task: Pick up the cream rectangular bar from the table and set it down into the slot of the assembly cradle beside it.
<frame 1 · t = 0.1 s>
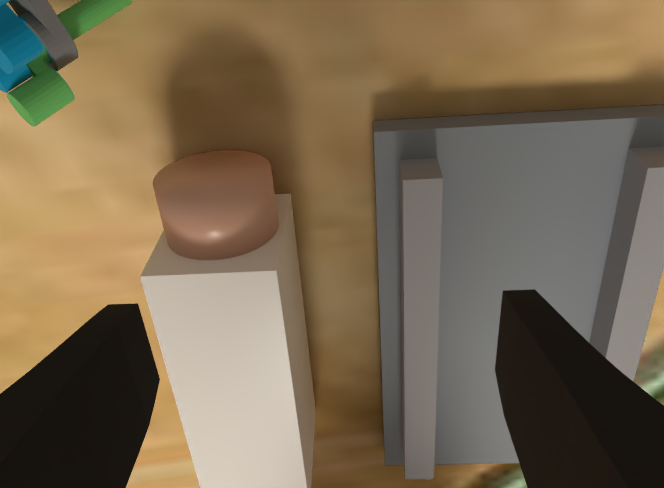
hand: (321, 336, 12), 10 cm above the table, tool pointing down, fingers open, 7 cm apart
cream rectangular bar: (256, 315, 25), on the table
cradle: (506, 308, 24), on the table
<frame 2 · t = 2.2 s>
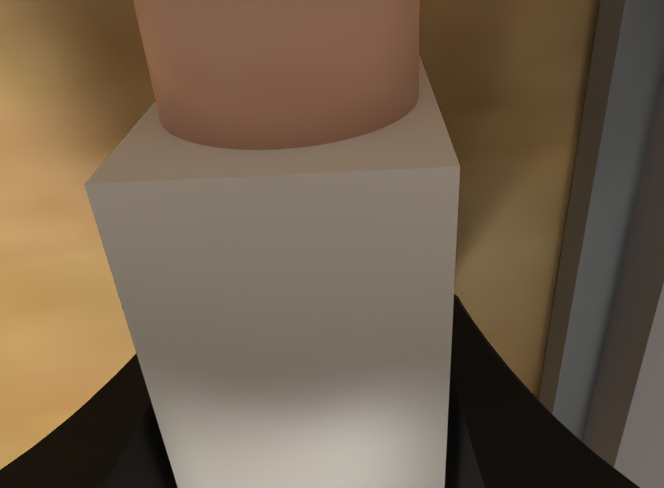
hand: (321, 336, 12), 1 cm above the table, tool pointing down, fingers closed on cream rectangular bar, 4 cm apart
cream rectangular bar: (324, 303, 14), on the table, touching gripper
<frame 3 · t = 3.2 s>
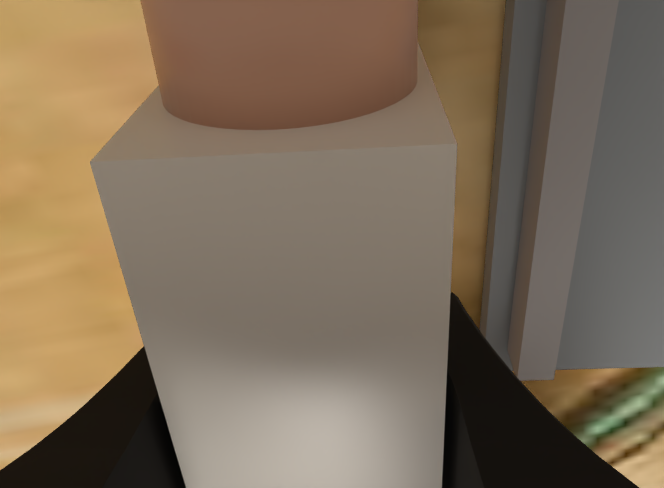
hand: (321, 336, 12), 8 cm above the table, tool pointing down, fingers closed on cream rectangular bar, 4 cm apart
cream rectangular bar: (324, 292, 14), point 6 cm above the table, touching gripper
cradle: (659, 149, 19), on the table
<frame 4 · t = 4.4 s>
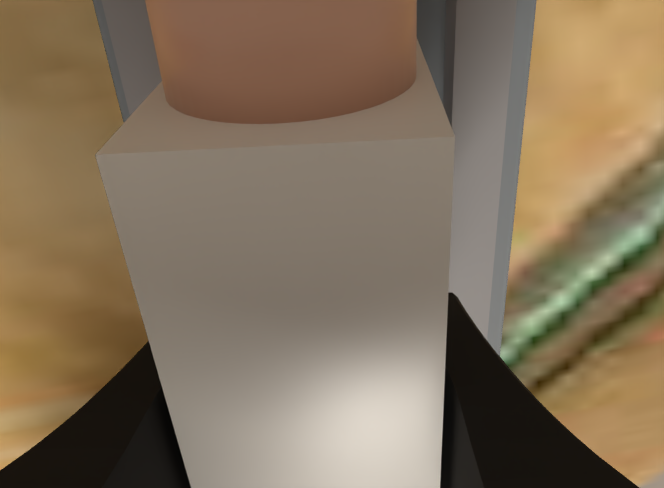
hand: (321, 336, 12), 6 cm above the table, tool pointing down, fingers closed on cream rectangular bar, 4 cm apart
cream rectangular bar: (324, 287, 14), point 4 cm above the table, touching gripper
cradle: (330, 197, 17), on the table
when the fingers open (3 cm above the table, at t = 5.7 s): cream rectangular bar stays where it is, resting on cradle.
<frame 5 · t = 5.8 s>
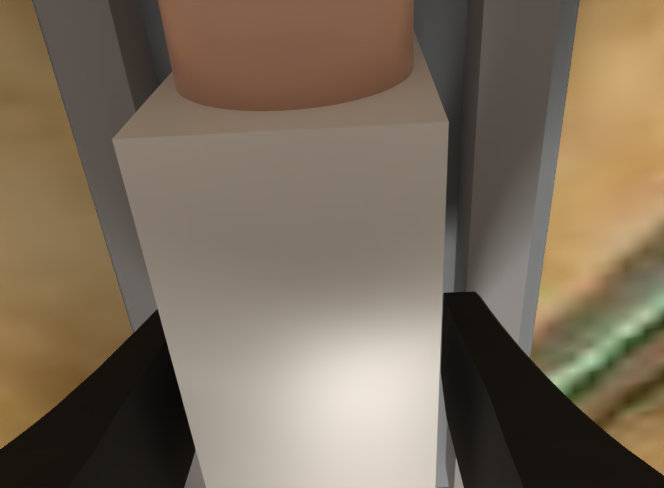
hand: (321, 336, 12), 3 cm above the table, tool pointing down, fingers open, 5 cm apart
cream rectangular bar: (325, 274, 14), point 1 cm above the table, touching cradle
cradle: (327, 246, 15), on the table
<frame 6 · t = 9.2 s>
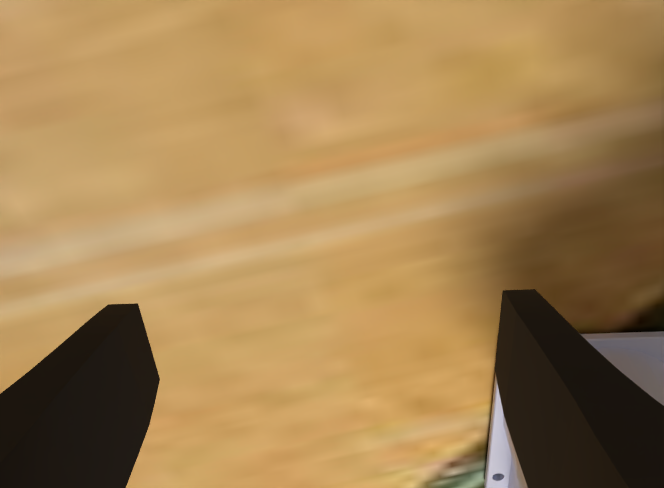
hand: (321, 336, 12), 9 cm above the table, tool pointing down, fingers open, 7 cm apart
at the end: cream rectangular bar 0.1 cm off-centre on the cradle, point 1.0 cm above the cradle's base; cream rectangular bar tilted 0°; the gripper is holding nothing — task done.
